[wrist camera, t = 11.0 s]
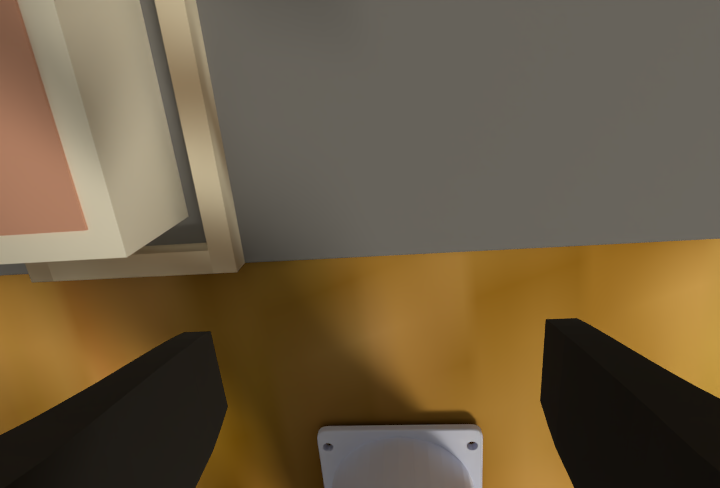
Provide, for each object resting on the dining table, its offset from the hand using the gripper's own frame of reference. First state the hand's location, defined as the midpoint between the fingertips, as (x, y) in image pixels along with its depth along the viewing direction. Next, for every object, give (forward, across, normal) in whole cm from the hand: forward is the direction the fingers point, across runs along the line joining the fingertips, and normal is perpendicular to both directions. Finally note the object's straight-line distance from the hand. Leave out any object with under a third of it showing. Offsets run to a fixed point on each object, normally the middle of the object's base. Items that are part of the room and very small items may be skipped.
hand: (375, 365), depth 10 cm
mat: (+9, +2, -6) cm, 11 cm away
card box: (+9, +10, -6) cm, 15 cm away
